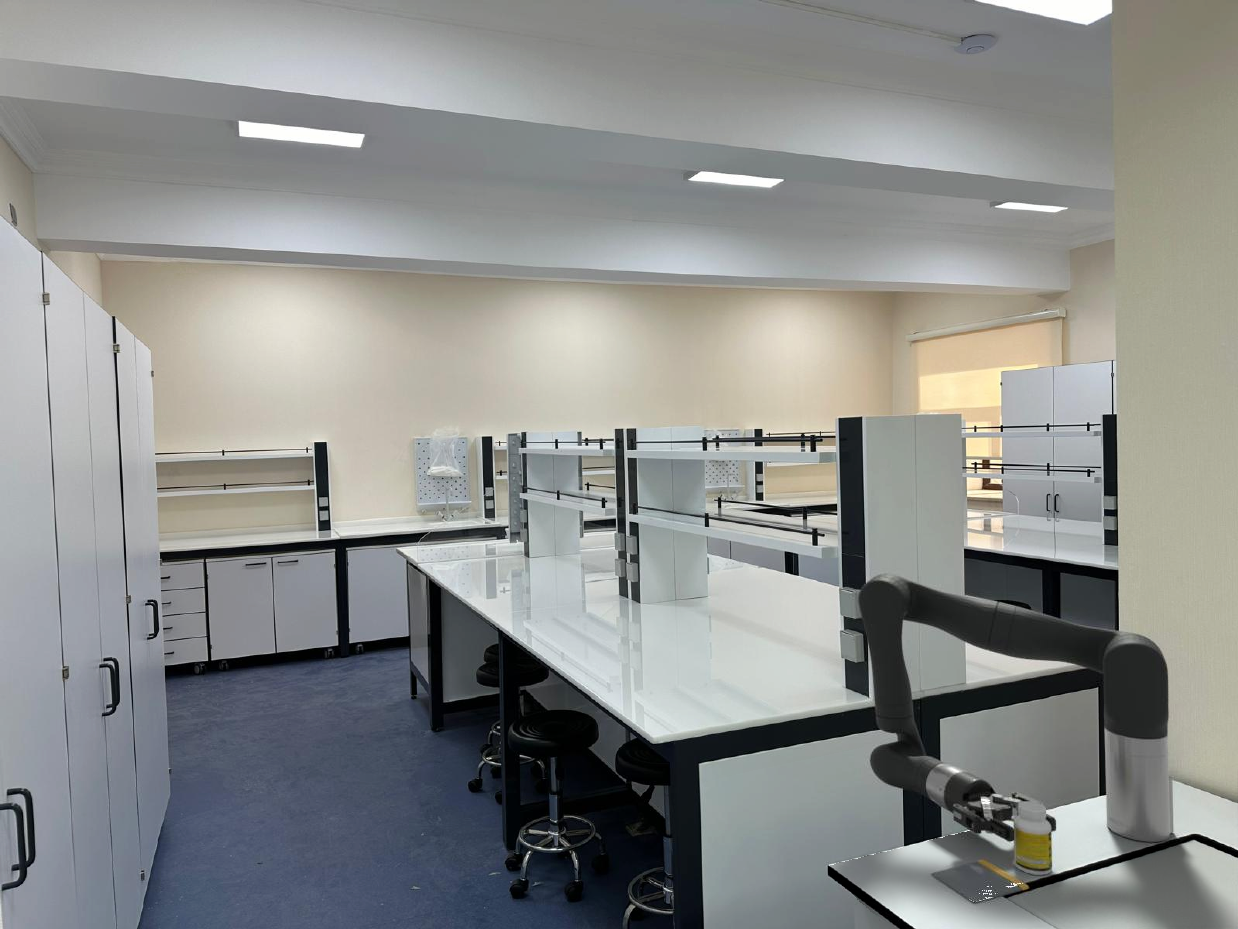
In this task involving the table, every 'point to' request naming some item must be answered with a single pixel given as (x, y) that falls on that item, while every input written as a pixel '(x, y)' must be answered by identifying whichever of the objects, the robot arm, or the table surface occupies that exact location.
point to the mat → (979, 880)
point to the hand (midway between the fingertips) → (1033, 830)
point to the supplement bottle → (1032, 839)
